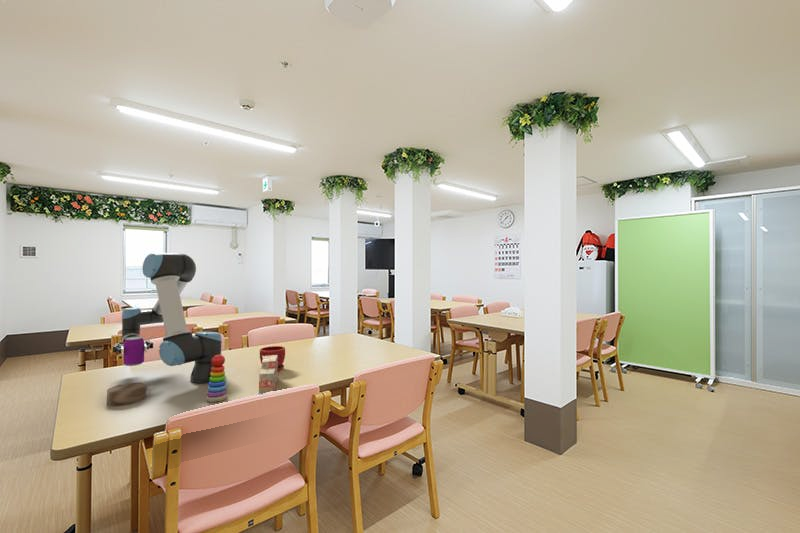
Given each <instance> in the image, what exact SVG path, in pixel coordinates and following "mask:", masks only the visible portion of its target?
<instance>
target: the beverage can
mask: <svg viewBox="0 0 800 533" xmlns="http://www.w3.org/2000/svg"><path fill="white" fill-rule="evenodd" d="M144 342H145V340H144V337H143V336H140V337H139V336H138V337H128V338H126V339H125V341H124V346H123V347H124V355H122V359H123V360H122V362H123V365H124V366H127V367H133V366H139V365H142V364H143V363H144V362H145V351H144Z"/></svg>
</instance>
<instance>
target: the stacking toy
mask: <svg viewBox="0 0 800 533" xmlns="http://www.w3.org/2000/svg"><path fill="white" fill-rule="evenodd" d="M225 362H226V358H225V356H224V355H222V354H221V355H215V356H214V357H213V358H212V364H213V365H214V366H213V367H212V368H211V370H212V372H211V373H210V375H211V377H210V382H209V383H208V387H207V391H206V396H205V400H206V401H207V402H210V403H217V401H218V402H222V401H224V400H225V399H226V398H228V393H227V384H226V382H227V381H226V372H224V371H225V368H226V367H225V365H224V364H225ZM223 370H224V371H223ZM224 374H225V375H224Z"/></svg>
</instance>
